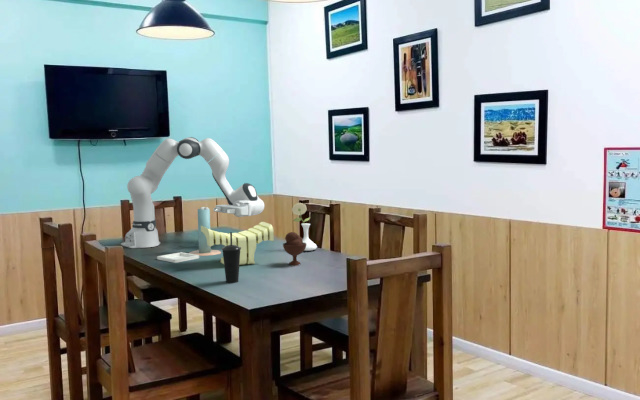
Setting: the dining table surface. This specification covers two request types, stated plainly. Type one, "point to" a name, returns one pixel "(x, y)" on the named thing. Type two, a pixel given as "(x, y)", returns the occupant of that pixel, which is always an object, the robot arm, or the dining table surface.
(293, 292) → the dining table surface
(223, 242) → the slatted curved stool
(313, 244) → the flower in vase
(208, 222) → the teal cylinder
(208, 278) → the dining table surface
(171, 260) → the tray
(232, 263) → the drinking cup
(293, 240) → the ice cream bowl
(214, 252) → the terracotta plate
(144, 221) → the robot arm
